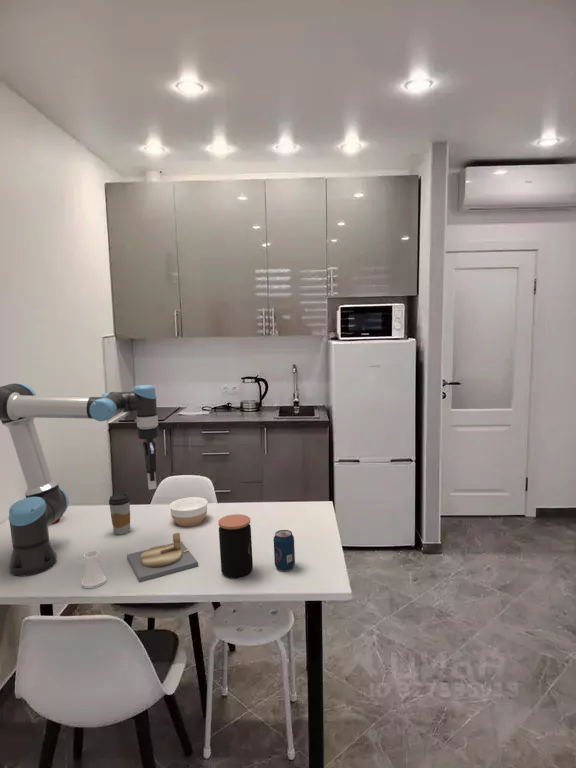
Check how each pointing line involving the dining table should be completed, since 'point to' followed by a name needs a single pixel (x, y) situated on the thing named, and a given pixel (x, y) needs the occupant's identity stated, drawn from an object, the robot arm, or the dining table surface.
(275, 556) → the soda can
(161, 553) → the dial
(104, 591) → the dining table surface
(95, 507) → the dining table surface
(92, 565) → the vase
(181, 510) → the bowl
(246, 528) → the coffee jar
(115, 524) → the coffee cup
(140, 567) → the dial base
